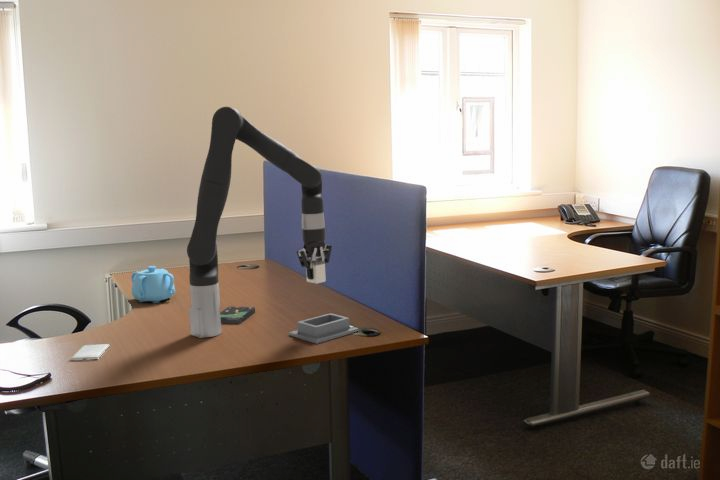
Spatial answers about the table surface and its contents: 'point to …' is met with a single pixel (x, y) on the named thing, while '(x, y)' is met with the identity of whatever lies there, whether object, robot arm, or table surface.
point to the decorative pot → (152, 285)
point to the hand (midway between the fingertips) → (315, 277)
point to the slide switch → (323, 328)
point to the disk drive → (236, 314)
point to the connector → (318, 272)
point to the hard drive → (90, 352)
